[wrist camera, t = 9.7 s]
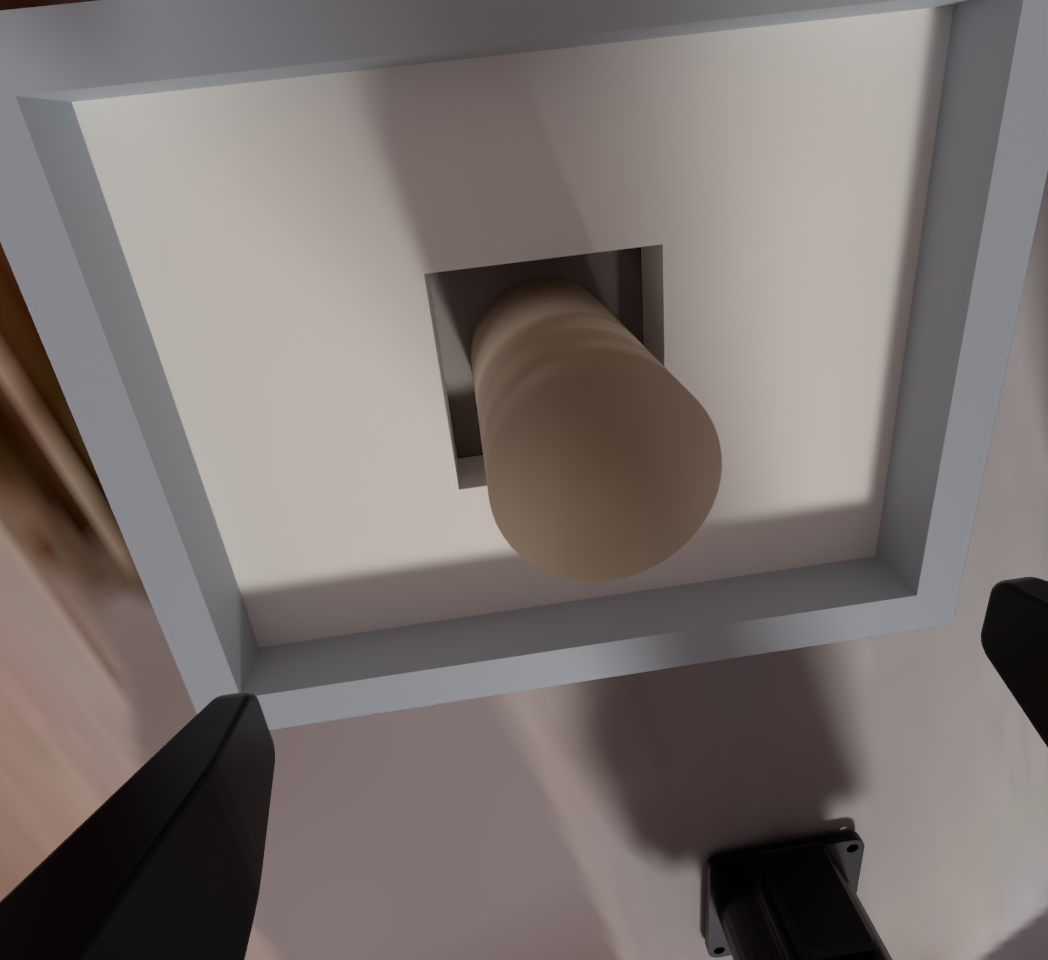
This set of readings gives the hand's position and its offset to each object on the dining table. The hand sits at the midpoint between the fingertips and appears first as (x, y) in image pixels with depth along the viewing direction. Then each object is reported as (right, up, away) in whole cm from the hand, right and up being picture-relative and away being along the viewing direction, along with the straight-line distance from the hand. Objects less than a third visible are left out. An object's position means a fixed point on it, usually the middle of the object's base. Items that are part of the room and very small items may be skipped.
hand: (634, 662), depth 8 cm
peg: (-1, +6, +11) cm, 12 cm away
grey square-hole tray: (-1, +6, +11) cm, 12 cm away
